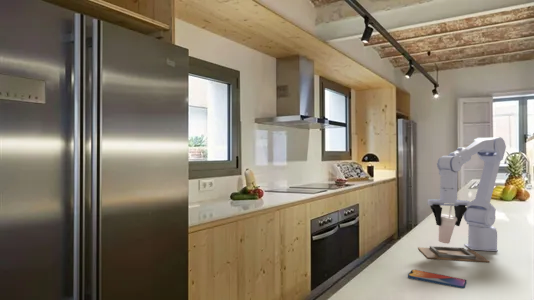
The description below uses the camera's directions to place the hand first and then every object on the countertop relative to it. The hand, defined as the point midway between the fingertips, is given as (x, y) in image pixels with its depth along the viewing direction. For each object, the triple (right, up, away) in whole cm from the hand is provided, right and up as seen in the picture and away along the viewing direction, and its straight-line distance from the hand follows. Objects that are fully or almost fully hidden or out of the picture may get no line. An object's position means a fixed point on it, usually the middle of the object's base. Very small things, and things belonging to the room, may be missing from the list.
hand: (447, 225), depth 140 cm
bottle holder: (0, -10, -2) cm, 11 cm away
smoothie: (-1, -7, +1) cm, 7 cm away
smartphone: (-17, -11, -29) cm, 35 cm away
